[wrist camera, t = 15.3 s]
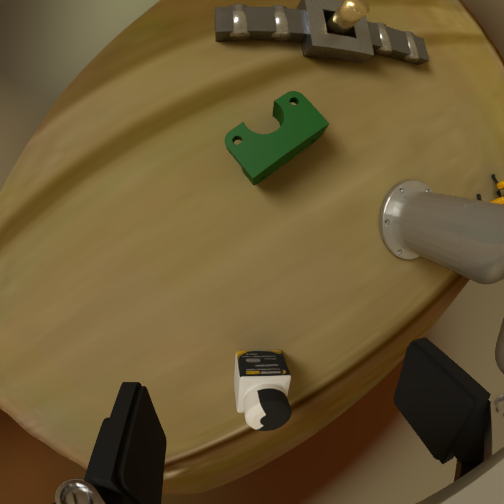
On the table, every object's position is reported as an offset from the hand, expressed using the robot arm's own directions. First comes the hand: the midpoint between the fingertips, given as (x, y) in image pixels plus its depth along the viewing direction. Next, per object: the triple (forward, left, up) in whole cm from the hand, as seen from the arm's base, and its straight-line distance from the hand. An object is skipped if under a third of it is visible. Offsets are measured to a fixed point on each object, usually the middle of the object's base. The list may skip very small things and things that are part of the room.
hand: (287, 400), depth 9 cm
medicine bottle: (-2, +22, -31) cm, 38 cm away
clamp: (-6, -12, -31) cm, 33 cm away
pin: (-16, -29, -30) cm, 45 cm away
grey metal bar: (-16, -29, -30) cm, 45 cm away
